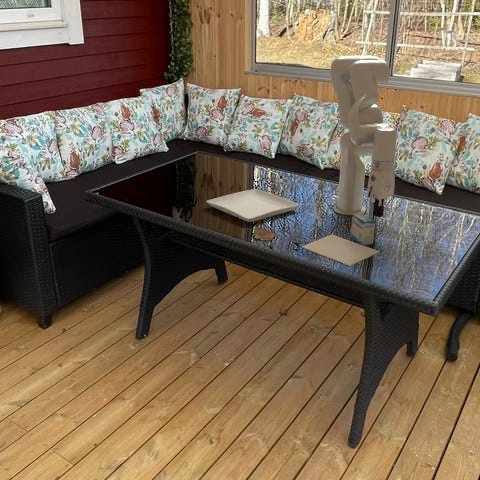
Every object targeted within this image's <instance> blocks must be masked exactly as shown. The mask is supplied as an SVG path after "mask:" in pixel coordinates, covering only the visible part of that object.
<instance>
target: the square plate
mask: <svg viewBox="0 0 480 480" xmlns="http://www.w3.org/2000/svg"><path fill="white" fill-rule="evenodd" d="M205 202H206V204H207V203H208V205H209V206H211V207H212V208H215V209H217V210H219V211H221V212H224V213H226V214H228V215H231V216H233V217H236V218H237V217H238V219H240V220H242V221H245V222H247V223H252V222H257V221H260V220H264V219H267V218H270V217H273V216H274V217H275V216H277V215H281V214H285V213H288V212H291V211H294V210H295V209H297V208H298V207H300V204H299V203H296V202H295V201H291V200H289V199H287V198H284V197H281V196H279V195H276V194H273V193H270V192H267V191H264V190H261V189H258V188H251V189H247V190H244V191H238V192H233V193H230V194H226V195H222V196H219V197H215V198H212V199H207V200H206V201H205Z"/></svg>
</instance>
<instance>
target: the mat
mask: <svg viewBox="0 0 480 480" xmlns="http://www.w3.org/2000/svg"><path fill="white" fill-rule="evenodd" d="M301 249H304V250H307V251H309V252H312V253H315V254H317V255H320V256H321V257H324V258H327V259H329V258H330V259H329V260H332V259H333V260H332V261H334V260H335V262H337V261H338V262H337V263H339V262H341V263H340V264H342V263H343V265H345V266H347V265H348V267H351V266H353V265H354V266H355V265H356V264H357V263H360V262H362V261H365V260H366V259H368V258H371V257H373V256H375V255H377V254H379V253H380V251H379V250H376V249H374V248H371V247H368V246H367V245H361V244H360V243H358V242H357V243H356V241H351V240H349V239H347V238H346V239H345V238H343V237H341V236H338V235H334V234H329V235H326V236H325V237H322V238H320V239H317V240H315V241H311V242H309V243H307V244H304V245H302V246H301Z"/></svg>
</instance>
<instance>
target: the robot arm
mask: <svg viewBox="0 0 480 480" xmlns="http://www.w3.org/2000/svg"><path fill="white" fill-rule="evenodd" d="M329 72H330V80H331V84H332V87H333V89H334V92H335V94H336V97H337V105H338V112H339V119H340V124H341V126H342V128H343V129H345V130H348V131H347V132H345V133H343V134H342V135H341V136H340V139H339V151H340V152H339V153H340V165H339V167H340V169H339V183H338V184H339V185H338V195H335V194H334V195H332V197H331V199H330V201H331V202H333V203H335V204H334V206H333V211H334V212H335V213H337V214H340V215H343V216H344V215H346V216H353V215H355V214H365V212H366V211H367V210H366V207H365V206H364V205H363V197H364V187H365V179H366V177H365V175H366V167H365V164H364V162H363V160H361V158H362V157H371V162H370V163H371V165H370V172H369V175H368V182H367V193H366V194H367V197H368V198H369V199H368V202H369V203H372V205H373V208H372V209H373V210H372V216H373V217H377V218H381V217H384V211H385V210H384V208H385V205H386V200H387V199H388V198H390V197H392V196H393V195H394V194H395V185H396V184H395V183H396V182H395V181H396V177H395V173H396V172H395V158H396V147H397V140H398V139H397V138H398V137H397V136H398V131H397V129H396V128H394V127H391V126H390V125H389V123H385V122H384V117H383V116H384V115H383V112H382V109H381V107H380V106H379V105H377V103H378V102H379V100H380V92H379V89H378V85H384V84H386V83H388V81H389V79H390V75H391V70H390V66H389V64H388V62H387V61H386V60H384V59H382V58H379V57H377V56H375V55H345V56H339V57H337V58H335V59H334V60H332V63H331V65H330V71H329Z"/></svg>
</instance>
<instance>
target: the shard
mask: <svg viewBox="0 0 480 480" xmlns="http://www.w3.org/2000/svg"><path fill="white" fill-rule="evenodd" d="M253 236H255V237H254V239H255V238H260V239H269V240H270V241H272V240H273V239H274V238H275V237H276V236H277V234H276V233H275V232H273V231H270V230H267V229H265V228H262V227H259V226H256V225H255V230H254V234H253ZM269 240H268V241H269Z"/></svg>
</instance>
